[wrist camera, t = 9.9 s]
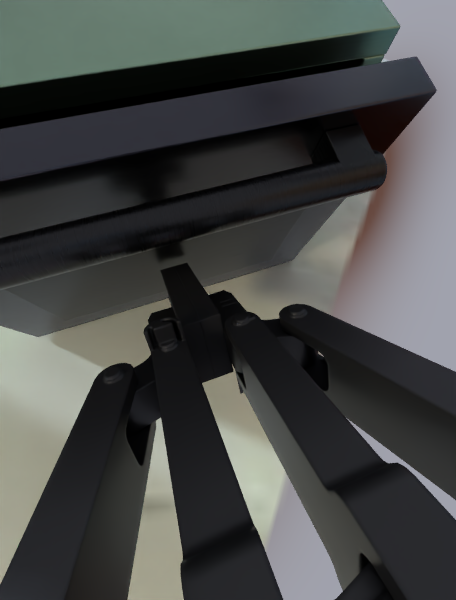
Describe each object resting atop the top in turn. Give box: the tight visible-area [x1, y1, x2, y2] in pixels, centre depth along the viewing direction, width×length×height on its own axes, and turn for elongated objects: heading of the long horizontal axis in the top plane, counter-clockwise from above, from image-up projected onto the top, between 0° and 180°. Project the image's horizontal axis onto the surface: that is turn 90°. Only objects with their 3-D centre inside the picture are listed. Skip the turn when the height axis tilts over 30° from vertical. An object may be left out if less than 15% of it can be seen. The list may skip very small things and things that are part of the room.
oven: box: [0, 0, 400, 129], centre depth 19 cm, size 16×20×16 cm
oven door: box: [0, 57, 436, 337], centre depth 16 cm, size 4×20×16 cm, turn 110°
